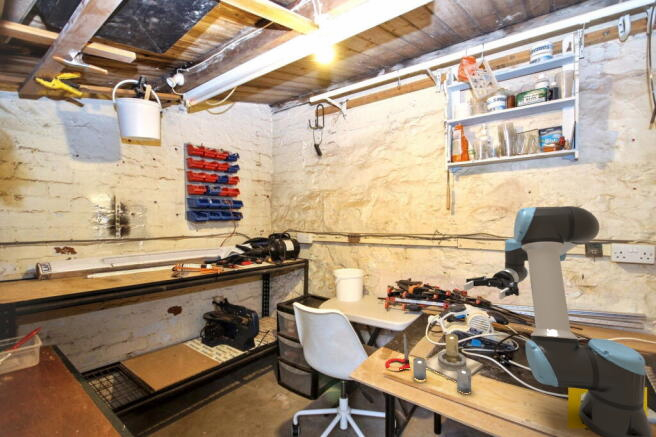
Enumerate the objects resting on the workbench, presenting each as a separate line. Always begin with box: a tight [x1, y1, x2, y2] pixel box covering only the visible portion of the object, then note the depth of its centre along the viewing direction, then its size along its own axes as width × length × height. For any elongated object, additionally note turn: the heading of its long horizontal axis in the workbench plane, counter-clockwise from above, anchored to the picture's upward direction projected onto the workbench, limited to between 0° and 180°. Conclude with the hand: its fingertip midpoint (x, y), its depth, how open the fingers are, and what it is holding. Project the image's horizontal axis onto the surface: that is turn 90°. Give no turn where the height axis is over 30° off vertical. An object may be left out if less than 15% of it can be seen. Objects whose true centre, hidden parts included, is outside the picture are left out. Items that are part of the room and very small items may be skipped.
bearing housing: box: [426, 348, 484, 383], centre depth 123 cm, size 16×16×4 cm
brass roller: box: [445, 333, 459, 363], centre depth 122 cm, size 4×4×11 cm
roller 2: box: [456, 367, 472, 393], centre depth 109 cm, size 4×4×7 cm
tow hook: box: [384, 333, 411, 370], centre depth 125 cm, size 8×13×9 cm
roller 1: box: [412, 356, 427, 380], centre depth 116 cm, size 4×4×7 cm
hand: (481, 291), depth 123 cm, fingers open, 13 cm apart
